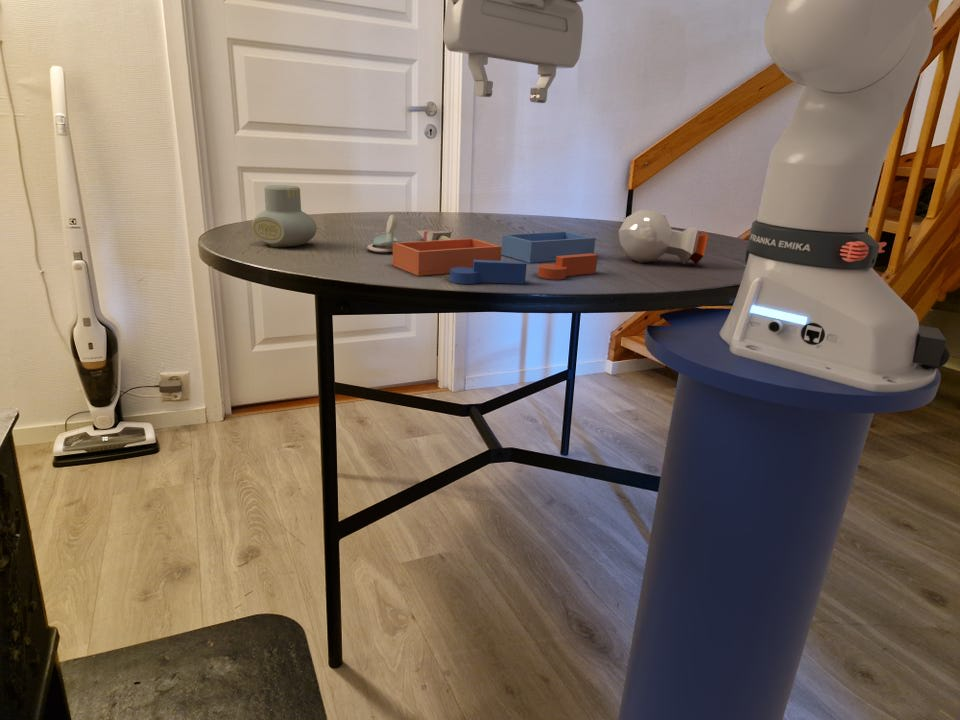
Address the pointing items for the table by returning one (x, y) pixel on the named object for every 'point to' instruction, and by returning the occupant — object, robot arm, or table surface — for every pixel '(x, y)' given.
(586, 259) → the orange stepped block
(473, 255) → the terracotta tray
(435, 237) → the wrapped snack bar
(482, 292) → the table surface
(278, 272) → the table surface
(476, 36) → the robot arm
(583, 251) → the blue tray
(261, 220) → the air freshener
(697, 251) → the potion bottle
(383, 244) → the pacifier
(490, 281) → the blue block with disc
